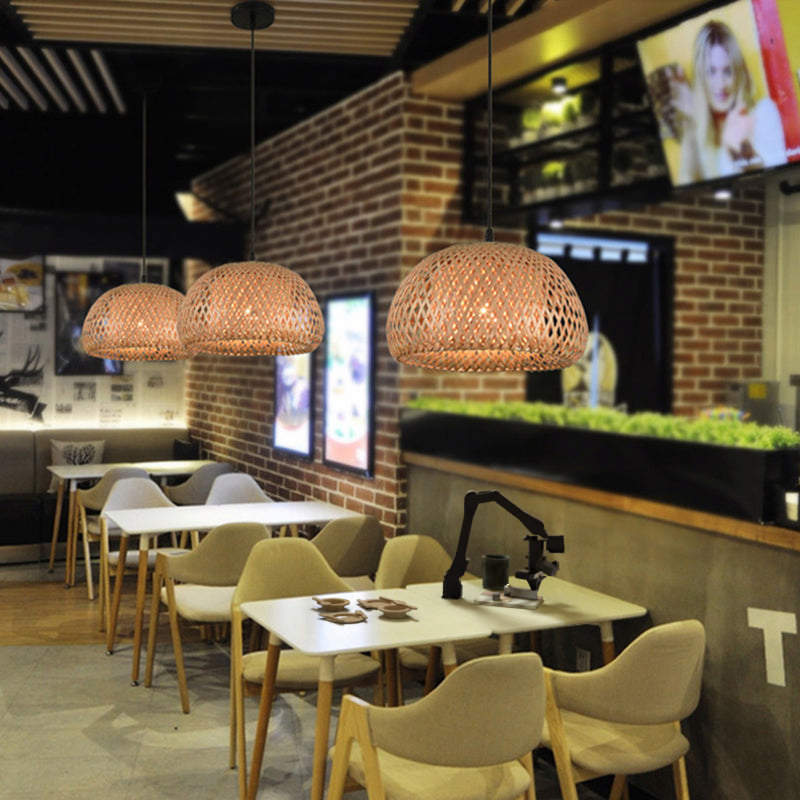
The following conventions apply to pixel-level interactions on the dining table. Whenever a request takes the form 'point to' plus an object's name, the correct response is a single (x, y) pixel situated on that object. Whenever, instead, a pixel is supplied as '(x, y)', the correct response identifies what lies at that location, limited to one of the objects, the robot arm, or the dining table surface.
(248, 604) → the dining table surface
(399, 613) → the tableware set
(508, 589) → the bar
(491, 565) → the mug
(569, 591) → the dining table surface
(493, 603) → the door mock-up board
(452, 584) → the robot arm
